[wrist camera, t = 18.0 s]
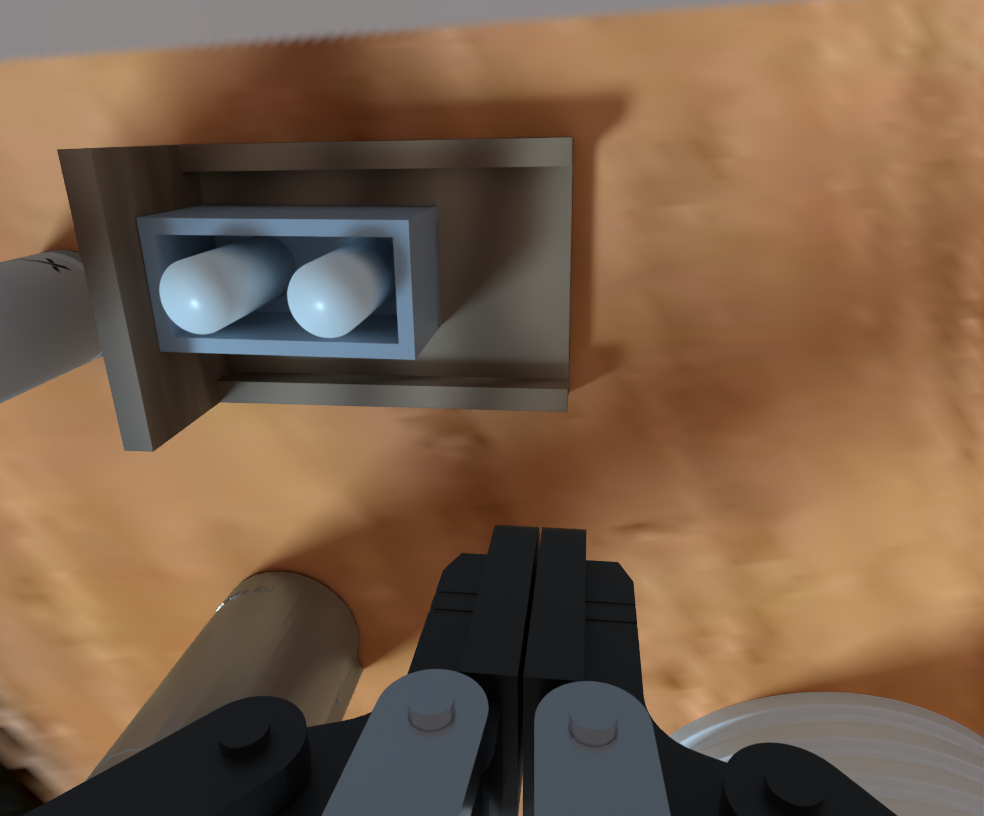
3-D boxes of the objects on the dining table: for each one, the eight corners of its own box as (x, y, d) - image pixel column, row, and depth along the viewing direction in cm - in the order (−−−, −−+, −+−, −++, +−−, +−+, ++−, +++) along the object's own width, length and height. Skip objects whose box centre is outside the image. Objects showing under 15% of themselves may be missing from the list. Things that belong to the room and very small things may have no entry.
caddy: (437, 205, 35) (397, 225, 28) (441, 325, 37) (405, 372, 30) (205, 204, 37) (110, 222, 29) (221, 319, 39) (137, 363, 32)
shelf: (573, 136, 34) (567, 139, 26) (568, 392, 39) (562, 466, 31) (180, 144, 37) (57, 149, 28) (220, 384, 42) (124, 450, 33)
